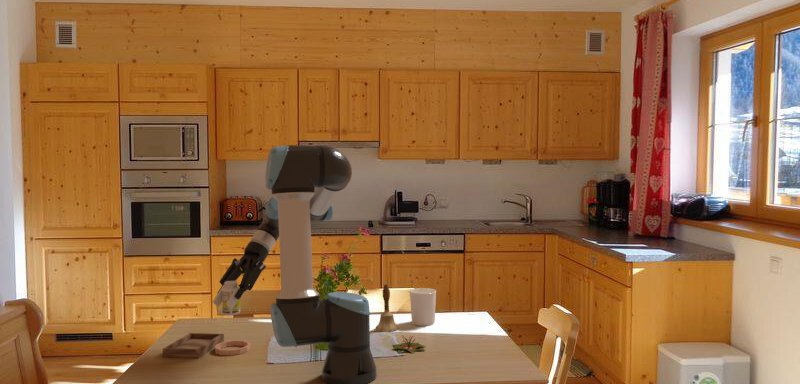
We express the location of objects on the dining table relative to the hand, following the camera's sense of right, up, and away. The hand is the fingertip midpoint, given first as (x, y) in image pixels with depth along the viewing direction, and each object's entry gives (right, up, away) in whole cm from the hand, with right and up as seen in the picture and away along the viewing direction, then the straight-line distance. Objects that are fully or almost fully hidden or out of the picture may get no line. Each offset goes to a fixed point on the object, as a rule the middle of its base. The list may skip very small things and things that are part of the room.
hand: (222, 305), depth 196 cm
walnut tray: (-11, -15, +6) cm, 19 cm away
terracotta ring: (+2, -15, +4) cm, 16 cm away
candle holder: (+64, -13, +34) cm, 74 cm away
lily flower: (+59, -15, +3) cm, 61 cm away
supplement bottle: (+2, -3, +3) cm, 5 cm away
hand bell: (+51, -13, +27) cm, 59 cm away
